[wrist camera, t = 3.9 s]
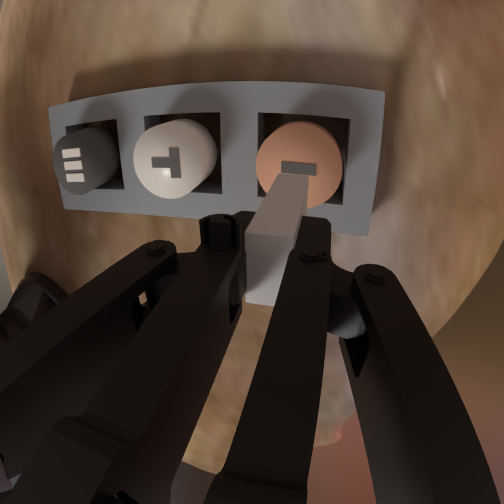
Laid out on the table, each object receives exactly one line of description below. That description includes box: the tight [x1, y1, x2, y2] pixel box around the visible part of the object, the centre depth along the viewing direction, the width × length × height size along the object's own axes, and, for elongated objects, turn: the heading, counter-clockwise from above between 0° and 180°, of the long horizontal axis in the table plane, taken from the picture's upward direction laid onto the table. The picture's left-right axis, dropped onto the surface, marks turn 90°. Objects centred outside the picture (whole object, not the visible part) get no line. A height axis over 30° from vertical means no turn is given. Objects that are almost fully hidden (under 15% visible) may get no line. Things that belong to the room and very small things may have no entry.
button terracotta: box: [256, 120, 342, 208], centre depth 23 cm, size 6×6×4 cm
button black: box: [53, 126, 119, 195], centre depth 26 cm, size 6×6×4 cm
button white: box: [133, 118, 217, 199], centre depth 24 cm, size 6×6×4 cm
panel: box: [48, 81, 385, 236], centre depth 27 cm, size 32×12×3 cm, turn 90°
